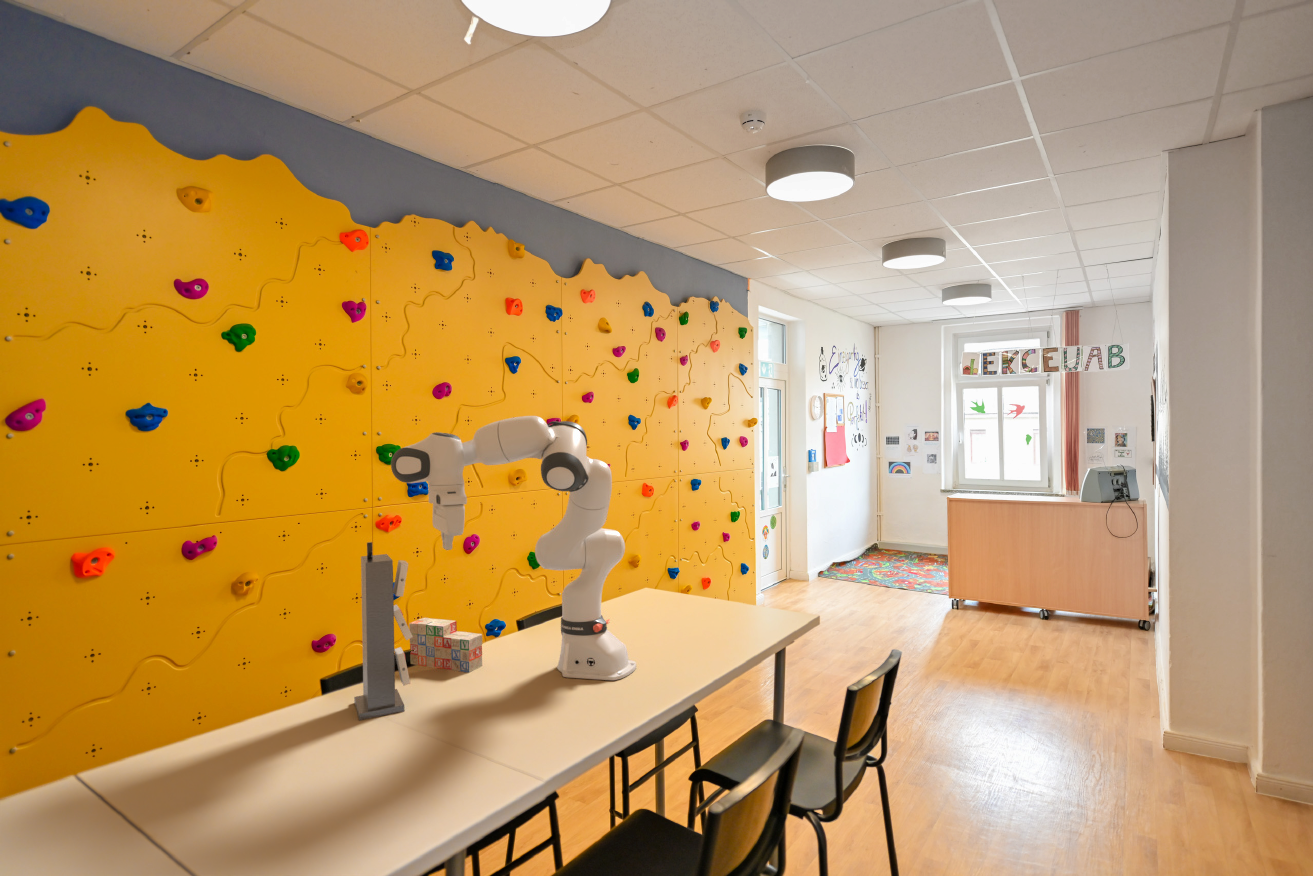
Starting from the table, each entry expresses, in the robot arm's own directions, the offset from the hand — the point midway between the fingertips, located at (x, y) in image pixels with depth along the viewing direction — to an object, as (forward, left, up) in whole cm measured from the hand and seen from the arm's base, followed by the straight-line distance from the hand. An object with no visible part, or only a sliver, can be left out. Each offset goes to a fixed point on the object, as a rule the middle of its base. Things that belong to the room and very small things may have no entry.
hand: (447, 549), depth 172 cm
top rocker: (+7, +10, -10) cm, 16 cm away
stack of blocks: (+16, -17, -38) cm, 44 cm away
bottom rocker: (+6, +9, -32) cm, 34 cm away
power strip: (+10, +14, -37) cm, 41 cm away
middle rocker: (+6, +8, -21) cm, 23 cm away
